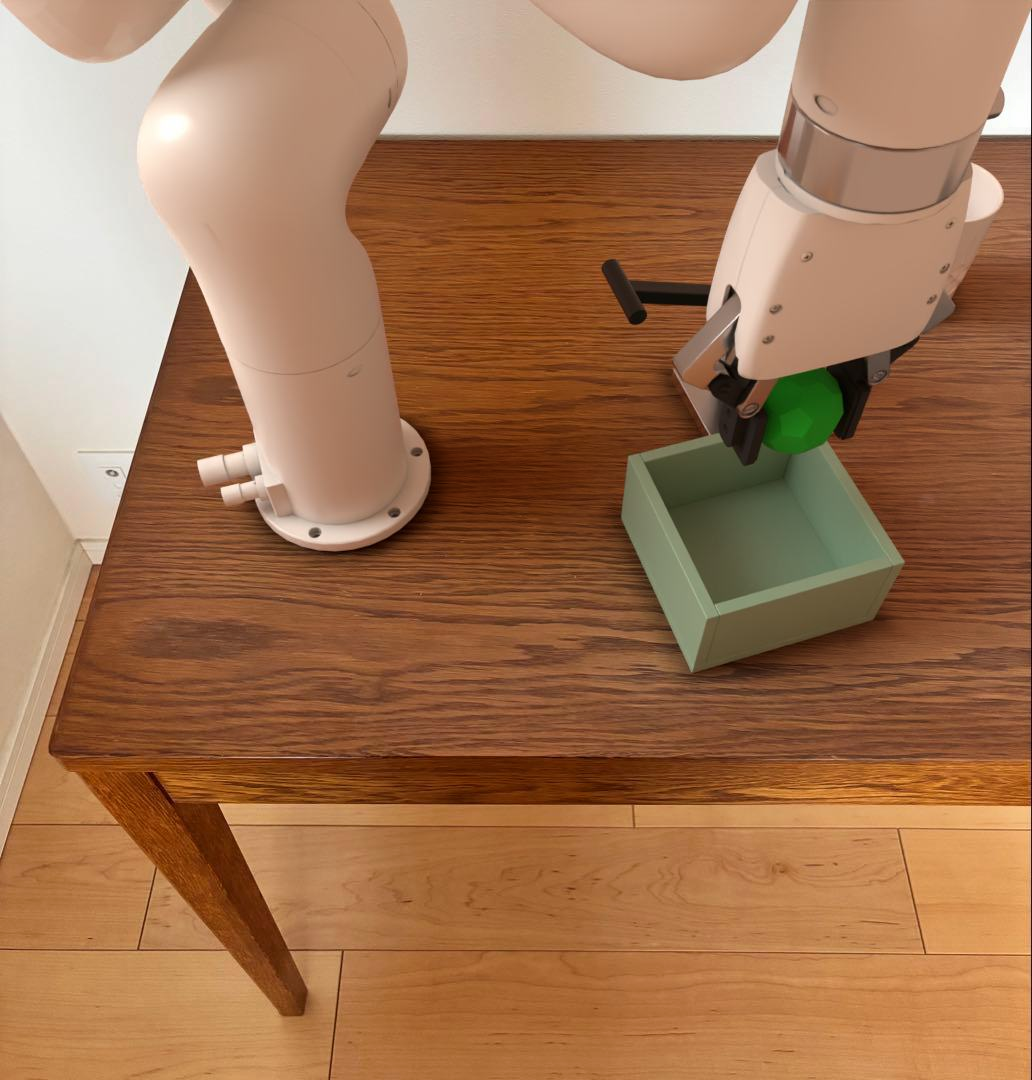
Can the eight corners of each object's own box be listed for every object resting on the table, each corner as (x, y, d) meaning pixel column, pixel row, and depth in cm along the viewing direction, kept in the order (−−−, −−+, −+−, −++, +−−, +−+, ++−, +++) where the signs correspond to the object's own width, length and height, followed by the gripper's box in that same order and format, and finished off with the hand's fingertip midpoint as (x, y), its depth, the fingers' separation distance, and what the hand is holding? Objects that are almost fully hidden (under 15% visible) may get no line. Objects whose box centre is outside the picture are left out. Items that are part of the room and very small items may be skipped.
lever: (622, 332, 60) (637, 301, 59) (595, 280, 63) (608, 249, 61) (803, 338, 66) (821, 309, 64) (771, 290, 69) (787, 261, 67)
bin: (691, 673, 61) (706, 619, 56) (620, 518, 68) (627, 455, 63) (873, 620, 63) (905, 562, 58) (786, 474, 70) (807, 409, 65)
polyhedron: (735, 462, 54) (750, 403, 50) (744, 397, 56) (759, 336, 53) (828, 477, 53) (851, 418, 49) (833, 411, 56) (855, 349, 52)
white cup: (958, 331, 78) (1008, 227, 70) (856, 319, 79) (893, 215, 71) (954, 266, 82) (1000, 161, 74) (857, 255, 83) (892, 150, 75)
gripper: (1009, 51, 43) (889, 353, 58) (643, 126, 40) (617, 421, 55) (1117, 147, 39) (958, 446, 54) (718, 238, 36) (667, 524, 51)
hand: (786, 431), depth 54 cm, fingers closed on polyhedron, 5 cm apart
